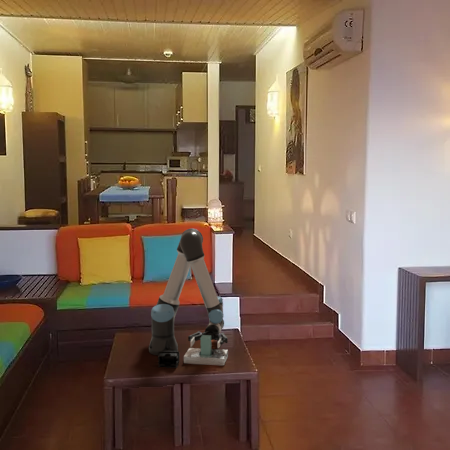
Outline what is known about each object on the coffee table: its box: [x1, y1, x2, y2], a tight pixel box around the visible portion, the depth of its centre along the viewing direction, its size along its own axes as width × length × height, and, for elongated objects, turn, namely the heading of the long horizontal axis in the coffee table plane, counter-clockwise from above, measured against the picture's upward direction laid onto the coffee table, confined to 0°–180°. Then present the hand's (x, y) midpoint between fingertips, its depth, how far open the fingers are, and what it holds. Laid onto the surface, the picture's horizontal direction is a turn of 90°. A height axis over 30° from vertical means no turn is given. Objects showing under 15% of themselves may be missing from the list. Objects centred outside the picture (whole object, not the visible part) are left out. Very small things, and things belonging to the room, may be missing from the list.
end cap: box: [157, 350, 180, 369], centre depth 277 cm, size 10×7×7 cm
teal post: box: [200, 335, 212, 356], centre depth 283 cm, size 4×4×12 cm
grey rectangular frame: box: [183, 347, 229, 366], centre depth 284 cm, size 20×12×4 cm, turn 80°
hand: (204, 344), depth 280 cm, fingers open, 13 cm apart
